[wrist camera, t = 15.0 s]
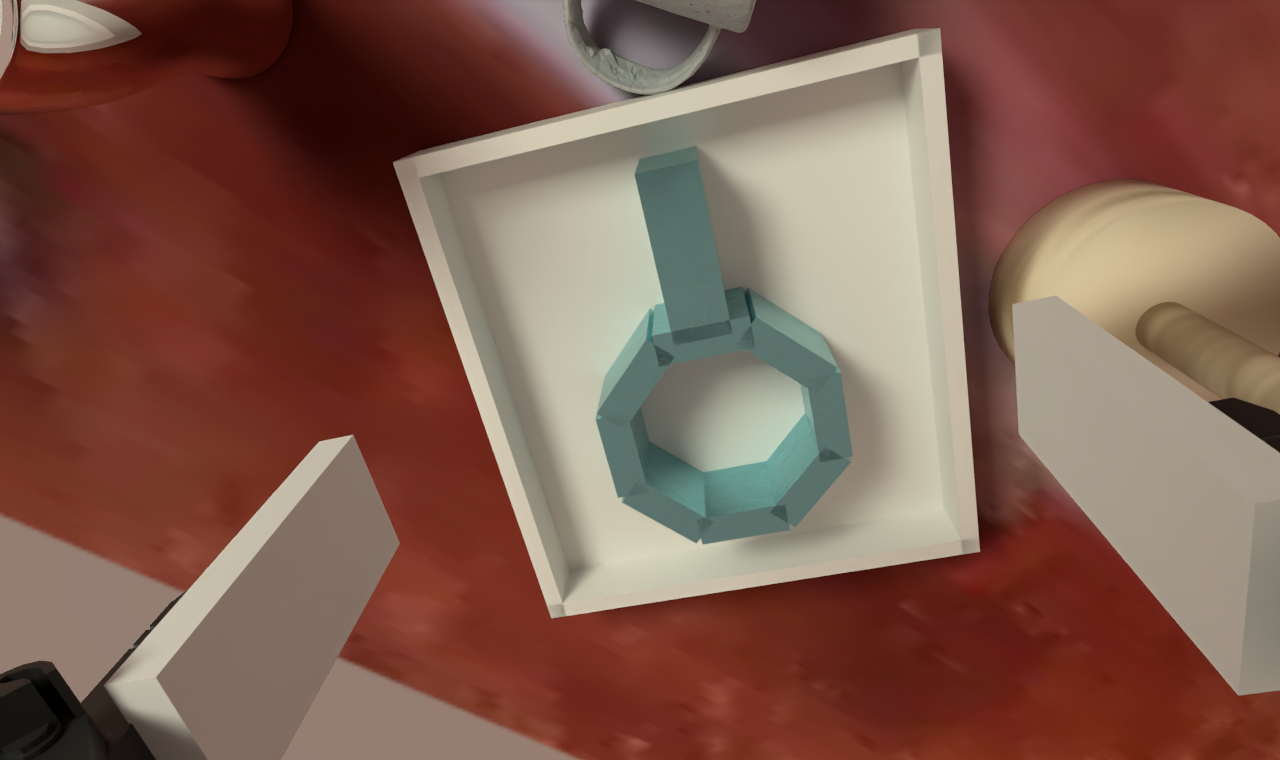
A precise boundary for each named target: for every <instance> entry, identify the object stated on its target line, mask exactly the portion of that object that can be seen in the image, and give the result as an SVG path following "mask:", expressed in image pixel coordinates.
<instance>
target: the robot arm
mask: <svg viewBox="0 0 1280 760" xmlns="http://www.w3.org/2000/svg"><path fill="white" fill-rule="evenodd" d="M1012 310H1013V330H1014V350H1015V370H1016V389H1017V409H1018V429H1019V435H1020V436H1021V438H1022V439H1023V440H1024V441H1025V442H1026V444H1027V445H1028V446H1029V447H1030V448H1031V449H1032V451H1033V452H1034V453H1035V454H1036V455H1037V457H1038V458H1039V459H1040V460H1041V461H1042V463H1043V464H1044V465H1045V466H1046V467H1047V469H1048V470H1049V471H1050V472H1051V473H1052V474H1053V476H1054V477H1055V478H1056V479H1057V480H1058V482H1059V483H1060V484H1061V485H1062V486H1063V488H1064V489H1065V490H1066V491H1067V492H1068V494H1069V495H1070V496H1071V497H1072V498H1073V499H1074V501H1075V502H1076V503H1077V504H1078V505H1079V507H1080V508H1081V509H1082V510H1083V511H1084V513H1085V514H1086V515H1087V516H1088V517H1089V518H1090V520H1091V521H1092V522H1093V523H1094V524H1095V526H1096V527H1097V528H1098V529H1099V530H1100V532H1101V533H1102V534H1103V535H1104V536H1105V538H1106V539H1107V540H1108V541H1109V542H1110V543H1111V545H1112V546H1113V547H1114V548H1115V549H1116V551H1117V552H1118V553H1119V554H1120V555H1121V557H1122V558H1123V559H1124V560H1125V561H1126V563H1127V564H1128V565H1129V566H1130V567H1131V568H1132V570H1133V571H1134V572H1135V573H1136V574H1137V576H1138V577H1139V578H1140V579H1141V580H1142V582H1143V583H1144V584H1145V585H1146V586H1147V588H1148V589H1149V590H1150V591H1151V592H1152V593H1153V595H1154V596H1155V597H1156V598H1157V599H1158V601H1159V602H1160V603H1161V604H1162V605H1163V607H1164V608H1165V609H1166V610H1167V611H1168V612H1169V614H1170V615H1171V616H1172V617H1173V618H1174V620H1175V621H1176V622H1177V623H1178V624H1179V626H1180V627H1181V628H1182V629H1183V630H1184V632H1185V633H1186V634H1187V635H1188V636H1189V637H1190V639H1191V640H1192V641H1193V642H1194V643H1195V645H1196V646H1197V647H1198V648H1199V649H1200V651H1201V652H1202V653H1203V654H1204V655H1205V657H1206V658H1207V659H1208V660H1209V661H1210V662H1211V664H1212V665H1213V666H1214V667H1215V668H1216V670H1217V671H1218V672H1219V673H1220V674H1221V676H1222V677H1223V678H1224V679H1225V680H1226V681H1227V683H1228V684H1229V685H1230V686H1231V687H1232V689H1233V690H1234V691H1235V692H1236V693H1237V695H1238V696H1239V695H1247V694H1255V693H1263V692H1270V691H1278V690H1280V414H1278V413H1277V412H1275V411H1274V410H1271V409H1268V408H1264V407H1261V406H1258V405H1255V404H1252V403H1249V402H1246V401H1243V400H1240V399H1237V398H1234V397H1233V398H1228V399H1222V400H1216V401H1210V402H1207V401H1205V400H1204V399H1202V398H1201V397H1200V396H1198V395H1197V394H1195V393H1194V392H1192V391H1191V390H1190V389H1188V388H1187V387H1185V386H1184V385H1183V384H1181V383H1180V382H1178V381H1177V380H1175V379H1174V378H1173V377H1171V376H1170V375H1168V374H1167V373H1165V372H1164V371H1163V370H1161V369H1160V368H1158V367H1157V366H1155V365H1154V364H1153V363H1151V362H1150V361H1148V360H1147V359H1145V358H1144V357H1143V356H1141V355H1140V354H1138V353H1137V352H1136V351H1134V350H1133V349H1131V348H1130V347H1128V346H1127V345H1126V344H1124V343H1123V342H1121V341H1120V340H1118V339H1117V338H1116V337H1114V336H1113V335H1111V334H1110V333H1108V332H1107V331H1106V330H1104V329H1103V328H1101V327H1100V326H1098V325H1097V324H1096V323H1094V322H1093V321H1091V320H1090V319H1089V318H1087V317H1086V316H1084V315H1083V314H1081V313H1080V312H1079V311H1077V310H1076V309H1074V308H1073V307H1071V306H1070V305H1069V304H1067V303H1066V302H1064V301H1063V300H1061V299H1060V298H1059V297H1057V296H1051V297H1046V298H1041V299H1036V300H1031V301H1026V302H1021V303H1016V304H1012ZM399 544H400V542H399V540H398V538H397V535H396V533H395V531H394V529H393V526H392V524H391V522H390V519H389V517H388V515H387V512H386V510H385V508H384V505H383V503H382V501H381V498H380V496H379V494H378V491H377V489H376V487H375V484H374V482H373V480H372V477H371V475H370V473H369V471H368V468H367V466H366V464H365V461H364V459H363V457H362V454H361V452H360V450H359V447H358V445H357V443H356V440H355V438H354V436H353V435H350V436H345V437H340V438H335V439H330V440H325V441H320V442H318V444H317V445H316V446H315V447H314V448H313V449H312V450H311V451H310V453H309V454H308V455H307V456H306V457H305V458H304V459H303V461H302V462H301V463H300V464H299V465H298V466H297V467H296V468H295V470H294V471H293V472H292V473H291V474H290V475H289V476H288V478H287V479H286V480H285V481H284V482H283V483H282V484H281V485H280V487H279V488H278V489H277V490H276V491H275V492H274V493H273V495H272V496H271V497H270V498H269V499H268V500H267V501H266V502H265V504H264V505H263V506H262V507H261V508H260V509H259V510H258V511H257V513H256V514H255V515H254V516H253V517H252V518H251V519H250V521H249V522H248V523H247V524H246V525H245V526H244V527H243V528H242V530H241V531H240V532H239V533H238V534H237V535H236V536H235V538H234V539H233V540H232V541H231V542H230V543H229V544H228V545H227V547H226V548H225V549H224V550H223V551H222V552H221V553H220V555H219V556H218V557H217V558H216V559H215V560H214V561H213V562H212V564H211V565H210V566H209V567H208V568H207V569H206V570H205V571H204V573H203V574H202V575H201V576H200V577H199V578H198V579H197V581H196V582H195V583H194V584H193V585H192V586H191V587H190V588H189V589H188V590H187V591H186V592H184V593H183V594H182V595H180V596H179V597H178V598H176V599H175V600H174V601H172V602H171V603H170V604H169V605H168V606H167V608H166V609H165V610H164V611H163V612H162V613H161V614H160V615H159V616H158V618H157V619H156V620H155V621H154V622H153V623H152V624H151V625H150V630H146V631H145V632H144V633H143V634H142V635H141V637H140V638H139V639H138V640H137V641H136V642H135V643H134V648H133V649H129V650H128V651H127V652H126V653H125V654H124V655H123V657H122V658H121V659H120V660H119V661H118V662H117V663H116V664H115V666H114V667H113V668H112V669H111V670H110V671H109V672H108V674H107V675H106V676H105V677H104V678H103V679H102V680H101V681H100V682H99V684H98V685H97V686H96V687H95V688H94V689H93V690H92V691H91V692H90V694H89V695H88V696H87V697H86V698H85V699H84V700H83V701H82V702H81V703H80V702H79V700H78V699H77V698H76V696H75V695H74V694H73V692H72V690H71V689H70V687H69V686H68V685H67V683H66V682H65V680H64V679H63V677H62V676H61V674H60V673H59V672H58V670H57V669H56V667H55V666H54V664H53V663H52V662H47V661H37V662H32V663H28V664H24V665H21V666H19V667H16V668H14V669H11V670H9V671H7V672H5V673H3V674H0V760H281V758H282V757H283V755H284V753H285V751H286V749H287V748H288V746H289V744H290V742H291V740H292V738H293V737H294V735H295V733H296V731H297V730H298V728H299V726H300V724H301V722H302V720H303V719H304V717H305V715H306V713H307V711H308V710H309V708H310V706H311V704H312V702H313V700H314V699H315V697H316V695H317V693H318V691H319V690H320V688H321V686H322V684H323V682H324V680H325V679H326V677H327V675H328V673H329V671H330V669H331V668H332V666H333V664H334V662H335V660H336V659H337V657H338V655H339V653H340V651H341V650H342V648H343V646H344V644H345V642H346V640H347V639H348V637H349V635H350V633H351V631H352V630H353V628H354V626H355V624H356V622H357V620H358V619H359V617H360V615H361V613H362V611H363V610H364V608H365V606H366V604H367V602H368V600H369V599H370V597H371V595H372V593H373V591H374V590H375V588H376V586H377V584H378V582H379V580H380V579H381V577H382V575H383V573H384V571H385V569H386V568H387V566H388V564H389V562H390V560H391V559H392V557H393V555H394V553H395V551H396V549H397V548H398V546H399Z"/></svg>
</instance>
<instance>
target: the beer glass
mask: <svg viewBox="0 0 1280 760" xmlns="http://www.w3.org/2000/svg"><path fill="white" fill-rule="evenodd" d="M292 25H293V2H292V0H0V115H23V114H37V113H50V112H62V111H68V110H74V109H80V108H86V107H92V106H98V105H102V104H106V103H109V102H112V101H115V100H118V99H121V98H125V97H128V96H131V95H134V94H136V93H139V92H141V91H144V90H146V89H148V88H151V87H153V86H156V85H158V84H160V83H163V82H165V81H167V80H169V79H171V78H174V77H176V76H178V75H181V74H183V73H186V72H196V73H200V74H203V75H207V76H212V77H217V78H223V79H242V78H247V77H251V76H254V75H257V74H259V73H261V72H263V71H264V70H266V69H267V68H269V67H270V66H271V65H272V64H274V63H275V62H276V61H277V59H278V58H279V57H280V56H281V54H282V53H283V51H284V49H285V48H286V46H287V43H288V41H289V38H290V35H291V30H292Z"/></svg>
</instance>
